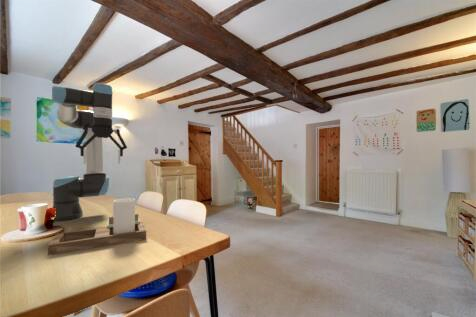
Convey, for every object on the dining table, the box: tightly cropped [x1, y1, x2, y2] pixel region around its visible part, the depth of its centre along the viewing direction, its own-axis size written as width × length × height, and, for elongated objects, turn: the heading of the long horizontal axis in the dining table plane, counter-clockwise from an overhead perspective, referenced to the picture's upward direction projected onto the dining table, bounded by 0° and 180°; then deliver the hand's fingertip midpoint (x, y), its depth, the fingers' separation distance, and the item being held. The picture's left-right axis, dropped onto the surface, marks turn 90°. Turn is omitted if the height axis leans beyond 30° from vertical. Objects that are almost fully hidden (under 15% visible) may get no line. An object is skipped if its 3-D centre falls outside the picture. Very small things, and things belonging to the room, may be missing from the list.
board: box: [47, 221, 147, 256], centre depth 96 cm, size 27×32×4 cm
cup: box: [112, 197, 136, 235], centre depth 94 cm, size 8×8×16 cm
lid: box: [106, 213, 141, 228], centre depth 104 cm, size 13×13×4 cm
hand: (102, 163), depth 102 cm, fingers open, 13 cm apart
